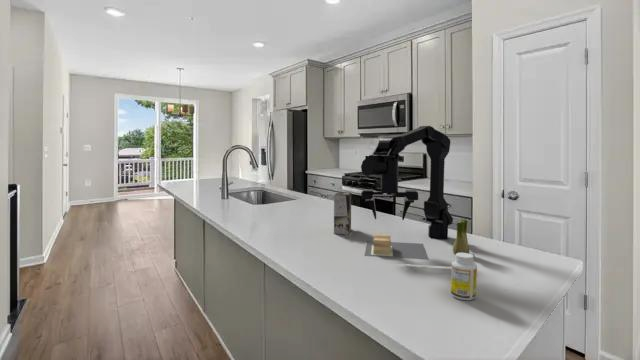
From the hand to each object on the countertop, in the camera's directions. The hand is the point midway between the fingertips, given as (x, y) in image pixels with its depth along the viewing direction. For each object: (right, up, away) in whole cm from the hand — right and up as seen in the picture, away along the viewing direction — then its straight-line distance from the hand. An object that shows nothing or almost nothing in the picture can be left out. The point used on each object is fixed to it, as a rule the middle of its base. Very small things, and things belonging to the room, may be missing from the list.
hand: (389, 219), depth 121 cm
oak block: (-3, -10, -2) cm, 11 cm away
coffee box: (-14, -8, +27) cm, 32 cm away
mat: (+2, -11, 0) cm, 11 cm away
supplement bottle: (+11, -15, -36) cm, 41 cm away
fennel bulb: (+22, -12, -5) cm, 26 cm away
